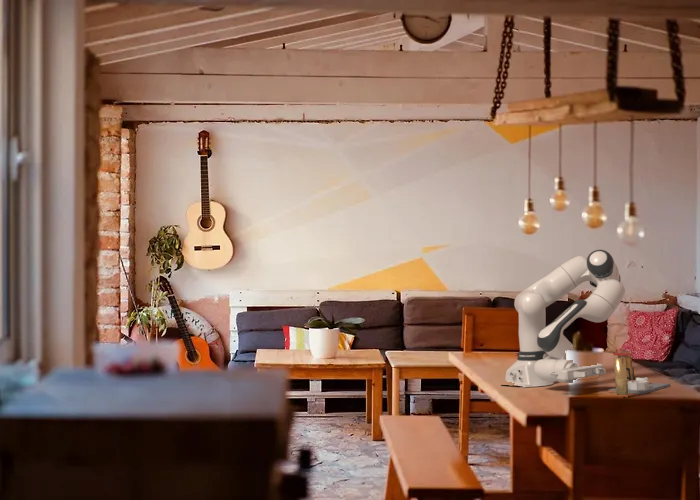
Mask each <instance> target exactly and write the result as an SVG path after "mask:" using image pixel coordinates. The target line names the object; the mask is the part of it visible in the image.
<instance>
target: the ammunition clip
mask: <svg viewBox="0 0 700 500" xmlns="http://www.w3.org/2000/svg"><path fill="white" fill-rule="evenodd" d="M619 353H631V351H630V350H626V349H620V351H619ZM621 357H625V361H626V373H627V379H629V380H628V381H630V380H633V381H636V377H635V370H634V367H633V359H632V355H621Z"/></svg>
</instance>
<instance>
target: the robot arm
mask: <svg viewBox="0 0 700 500" xmlns="http://www.w3.org/2000/svg"><path fill="white" fill-rule="evenodd" d="M585 282H589V284H590V285H591V287H593V288H595V289H594V290H593V291H592V293H591V294H589V296H588V297H587V298H585V299H578V300H576V301H575V302H572V304H571V305H569V306H568V307H567V308H565V310H563V312H561V313H560V314H559V315H557V317H556V318H555V319H554V320H552V321H551V323H549V324H548V325H546V324H547V323H546V319H547V318H546V314H547V313H546V308H547V307H549V306H550V305H552V304H554V303H555V302H556V301H559V300H560V299H562V298H563V297H565V296H566V295H567V294H569V293H570V292H572V291H573V290H575V289H576V288H577V287H579V286H580V285H581V284H583V283H585ZM625 293H626V289H625V286H624V285H623V284H622V282H621V275H620V272H619V268H618V266H617V264H616V263H615V260H614V258H613V256H612V255H611V254H610V252H608V251H607V250H604V249H596V250H593V251H591V252H590V253H589V254H588V256H587V257H585V256H583V255H577V256H575V257H572V258H571V259H569V260H567V261H565V262H564V263H562V264H560V265H559V266H558V267H556V268H554V270H552V271H551V272H549V273H548V274H547V275H545V276H543V277H542V278H541V279H539V280H537V281H536V282H534V283H533V284H531V285H530V286H528V287H527V288H525V289H523V290H522V291H521V292H519V293H518V294H517V295H516V297H515V298H514V303H513V305H514V308H515V310H516V312H517V313H518V341H519V352H517V353H514V356H515V357H517V358H516V359H517V360H515V362H514V363H513V364H512V365H511V366H509V367H508V368H507V369H506V372H505V376H504V377H505V381H507V382H512V383H515V384H514V385H518V386H523V387H522V388H531V387H545V386H550V385H554V384H555V382H559V383H562V384H563V383H566V384H567V383H568V384H573V380H576V379H577V378H582V379H584V378H583V377H585V378H588V377H594V376H599V375H603V374H606V373H607V371H606V368H604V365H603V364H602V363H597V365H591V366H582V367H578V366H577V364H576V363H573V360H566V353H565V350H566V351H567V349H571V350H572V349H573V346H574V345H573V343H572V342H571V341H569V339H568V338H567V337H566V336H565V335H564V330H565V329H567V328H568V327H569V326H570V325H571V324H572V323H573V322H575V320H576V319H578V318H582V319H584V320H587V321H590V322H593V323H602V322H605V321H607V320H608V319H610V317H611V316H612V314H613V313H614V312H615V311H616V309H617V308H618V306H619V304H620V303H621V302H622V300H623V298H624V296H625Z"/></svg>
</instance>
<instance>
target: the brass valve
mask: <svg viewBox="0 0 700 500" xmlns="http://www.w3.org/2000/svg"><path fill="white" fill-rule="evenodd" d="M621 355H631V356H633V353H632V352H630V353H620V352H613V356H616V357H614V358H613V367H614V379H615V388H616V392H617V393H616V396H617V395H629V393H628V380H627V373H626V361H625V357H621Z"/></svg>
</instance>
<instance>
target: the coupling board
mask: <svg viewBox="0 0 700 500" xmlns="http://www.w3.org/2000/svg"><path fill="white" fill-rule="evenodd" d="M627 384H628V392H629V393H628V394H632V393H635V394H636V395H640V394H641V395H645V394H648V393H649V394H650V393H651V392H655V391H659V390H663V389H666V388H669V387H671V383H665V382H664V383H660V382H659V383H658V382H649V378H648V376H638V377H635V380H633V381H630V380H628V381H627ZM608 390H614V391H616V387H614V388H609V389H608Z"/></svg>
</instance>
